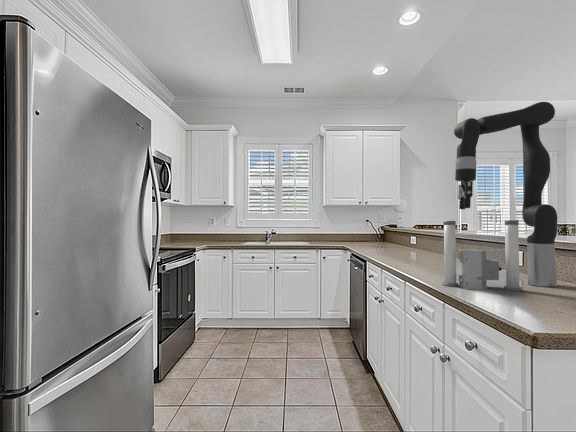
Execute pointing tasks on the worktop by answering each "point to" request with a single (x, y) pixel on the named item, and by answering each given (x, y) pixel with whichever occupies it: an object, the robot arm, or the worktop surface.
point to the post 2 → (512, 255)
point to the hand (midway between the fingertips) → (464, 208)
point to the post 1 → (450, 254)
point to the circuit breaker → (477, 269)
